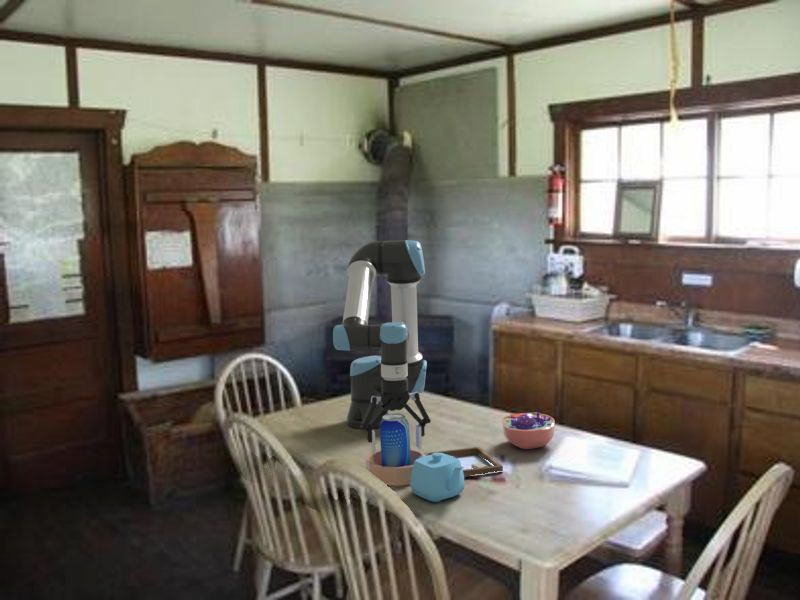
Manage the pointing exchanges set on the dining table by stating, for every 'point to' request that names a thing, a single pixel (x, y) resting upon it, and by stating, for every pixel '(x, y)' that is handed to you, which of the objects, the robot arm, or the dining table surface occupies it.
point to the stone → (478, 465)
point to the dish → (391, 469)
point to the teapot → (437, 477)
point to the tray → (473, 451)
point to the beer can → (395, 440)
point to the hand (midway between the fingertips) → (396, 450)
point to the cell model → (528, 429)
